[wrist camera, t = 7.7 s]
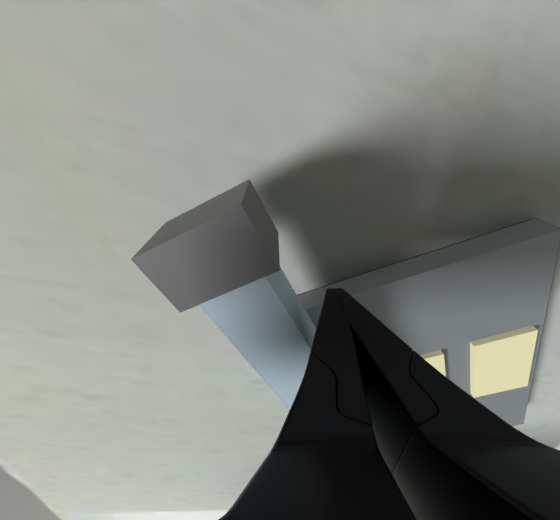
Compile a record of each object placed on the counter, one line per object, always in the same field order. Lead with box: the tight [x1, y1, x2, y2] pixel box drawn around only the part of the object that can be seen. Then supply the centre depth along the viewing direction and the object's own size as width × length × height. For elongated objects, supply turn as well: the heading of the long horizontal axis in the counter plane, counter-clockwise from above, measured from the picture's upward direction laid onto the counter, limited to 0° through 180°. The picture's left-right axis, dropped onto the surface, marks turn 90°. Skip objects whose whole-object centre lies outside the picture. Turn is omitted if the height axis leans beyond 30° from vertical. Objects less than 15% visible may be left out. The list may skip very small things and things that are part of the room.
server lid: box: [297, 218, 560, 426], centre depth 15 cm, size 16×13×2 cm
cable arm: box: [131, 179, 316, 410], centre depth 11 cm, size 16×3×2 cm, turn 26°
